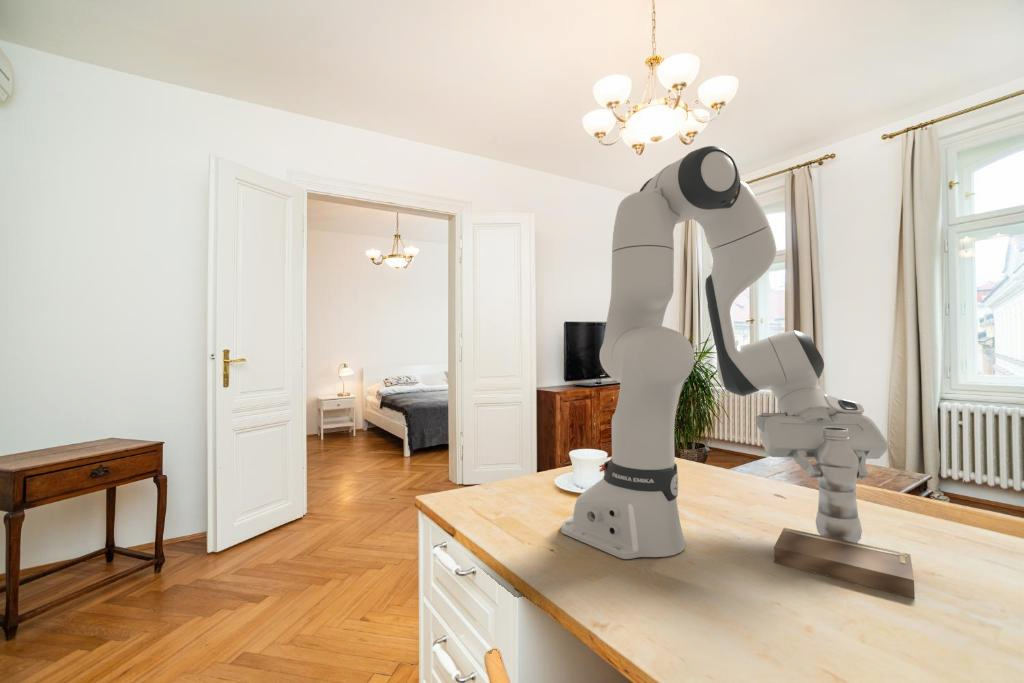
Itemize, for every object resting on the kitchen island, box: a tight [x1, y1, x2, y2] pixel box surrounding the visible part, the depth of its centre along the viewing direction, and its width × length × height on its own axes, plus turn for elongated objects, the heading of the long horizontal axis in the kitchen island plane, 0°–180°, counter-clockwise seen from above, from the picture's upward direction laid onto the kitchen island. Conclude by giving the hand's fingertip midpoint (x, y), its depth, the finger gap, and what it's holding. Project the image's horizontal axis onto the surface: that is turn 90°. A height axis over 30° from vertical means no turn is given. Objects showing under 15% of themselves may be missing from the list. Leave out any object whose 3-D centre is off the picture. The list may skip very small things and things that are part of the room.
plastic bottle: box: [813, 427, 863, 543], centre depth 80 cm, size 6×7×20 cm
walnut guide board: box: [773, 527, 916, 599], centre depth 71 cm, size 17×10×3 cm, turn 51°
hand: (838, 476), depth 79 cm, fingers closed on plastic bottle, 6 cm apart
